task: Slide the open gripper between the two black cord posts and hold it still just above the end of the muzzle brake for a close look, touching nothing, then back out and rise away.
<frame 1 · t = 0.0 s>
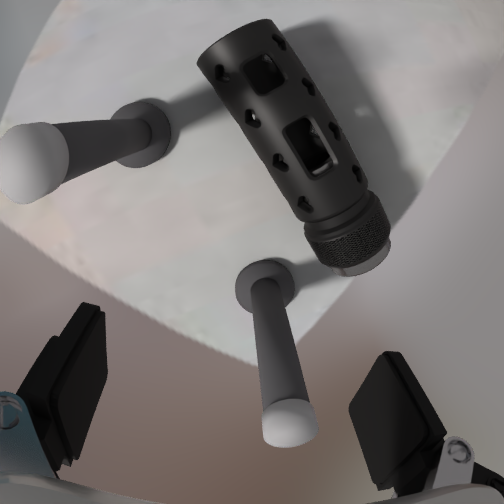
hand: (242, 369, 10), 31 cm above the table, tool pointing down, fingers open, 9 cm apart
cord post 1: (264, 286, 45), on the table
muzzle brake: (295, 147, 38), on the table
cord post 2: (138, 134, 35), on the table
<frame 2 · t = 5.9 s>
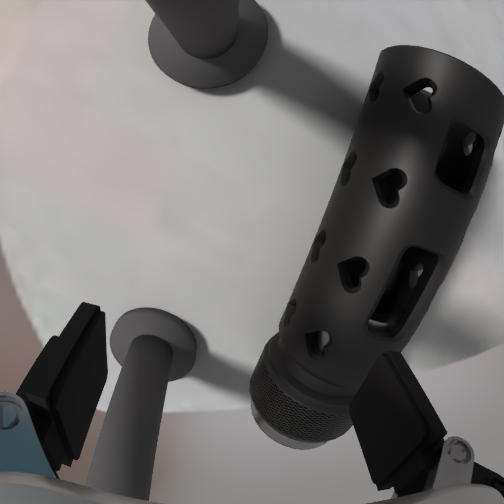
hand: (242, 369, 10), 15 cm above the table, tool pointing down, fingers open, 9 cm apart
cord post 1: (153, 343, 28), on the table
muzzle brake: (344, 243, 26), on the table
cord post 2: (208, 36, 18), on the table
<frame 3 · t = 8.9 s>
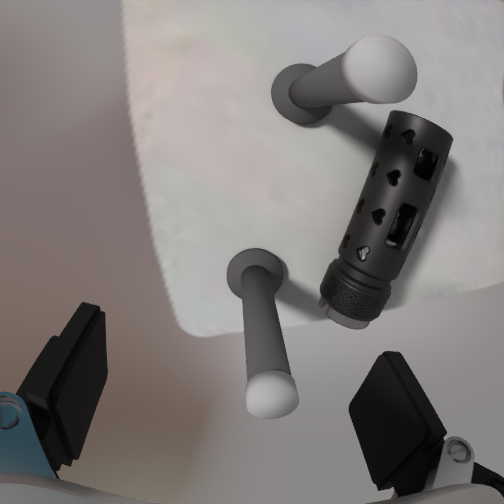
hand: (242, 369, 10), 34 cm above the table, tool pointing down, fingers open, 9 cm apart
cord post 1: (254, 273, 47), on the table
muzzle brake: (368, 210, 45), on the table
cord post 2: (302, 93, 37), on the table
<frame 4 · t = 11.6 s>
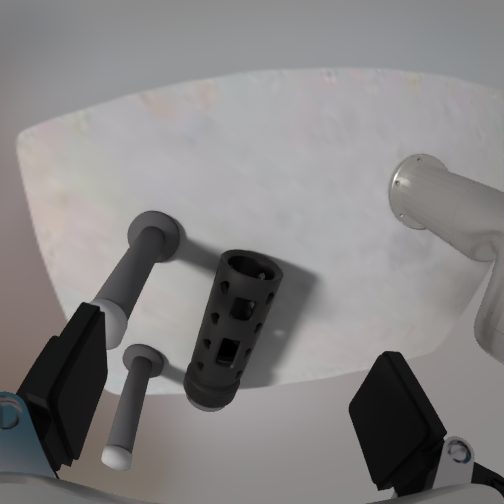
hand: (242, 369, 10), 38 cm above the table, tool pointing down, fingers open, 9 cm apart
cord post 1: (143, 359, 58), on the table
muzzle brake: (226, 319, 55), on the table
cord post 2: (154, 235, 48), on the table
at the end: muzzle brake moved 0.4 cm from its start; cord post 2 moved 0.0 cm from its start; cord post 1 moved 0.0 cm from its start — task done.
